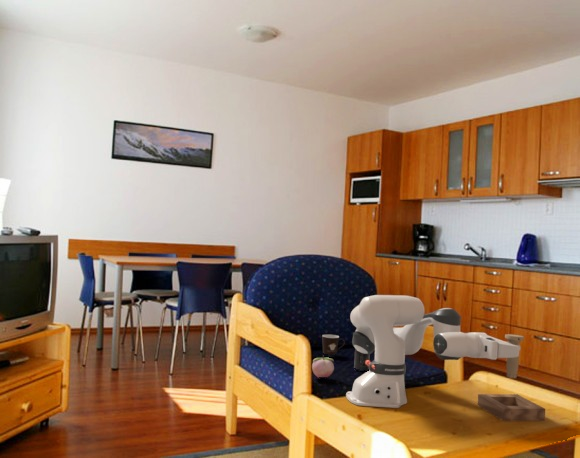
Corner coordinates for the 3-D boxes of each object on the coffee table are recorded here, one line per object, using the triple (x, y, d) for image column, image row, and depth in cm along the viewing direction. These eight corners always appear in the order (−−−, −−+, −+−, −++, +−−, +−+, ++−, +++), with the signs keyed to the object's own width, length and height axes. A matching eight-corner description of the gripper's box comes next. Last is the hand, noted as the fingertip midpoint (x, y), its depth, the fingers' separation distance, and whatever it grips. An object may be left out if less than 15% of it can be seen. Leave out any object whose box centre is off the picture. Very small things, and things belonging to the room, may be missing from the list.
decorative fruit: (328, 376, 219) (329, 352, 219) (335, 381, 211) (337, 357, 211) (307, 376, 216) (309, 353, 216) (314, 382, 208) (316, 357, 208)
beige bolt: (523, 379, 181) (526, 337, 182) (508, 379, 179) (511, 336, 180) (514, 376, 186) (517, 334, 186) (499, 375, 184) (502, 333, 185)
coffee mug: (320, 357, 253) (321, 337, 253) (321, 353, 261) (322, 334, 262) (343, 359, 251) (344, 339, 251) (344, 355, 260) (345, 335, 260)
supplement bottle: (371, 370, 233) (372, 343, 233) (365, 373, 227) (366, 346, 227) (357, 367, 236) (358, 341, 237) (351, 370, 231) (352, 343, 231)
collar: (502, 420, 173) (502, 408, 174) (477, 405, 189) (478, 394, 189) (544, 420, 176) (545, 408, 176) (516, 405, 192) (517, 394, 192)
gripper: (464, 347, 191) (498, 348, 193) (495, 360, 171) (532, 361, 173) (465, 330, 191) (499, 331, 194) (496, 342, 171) (533, 343, 173)
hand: (515, 345), depth 183 cm, fingers closed on beige bolt, 3 cm apart
